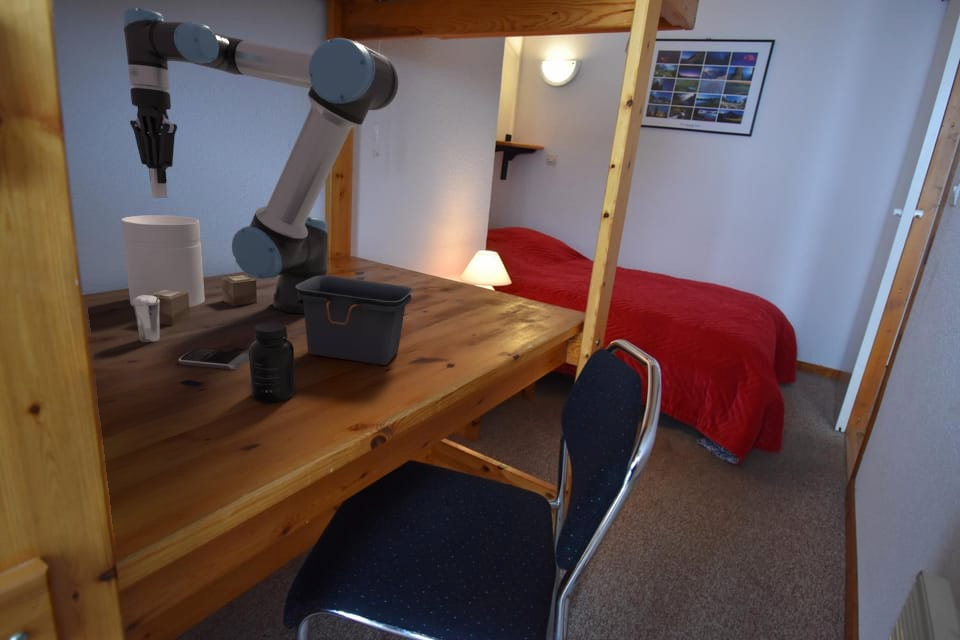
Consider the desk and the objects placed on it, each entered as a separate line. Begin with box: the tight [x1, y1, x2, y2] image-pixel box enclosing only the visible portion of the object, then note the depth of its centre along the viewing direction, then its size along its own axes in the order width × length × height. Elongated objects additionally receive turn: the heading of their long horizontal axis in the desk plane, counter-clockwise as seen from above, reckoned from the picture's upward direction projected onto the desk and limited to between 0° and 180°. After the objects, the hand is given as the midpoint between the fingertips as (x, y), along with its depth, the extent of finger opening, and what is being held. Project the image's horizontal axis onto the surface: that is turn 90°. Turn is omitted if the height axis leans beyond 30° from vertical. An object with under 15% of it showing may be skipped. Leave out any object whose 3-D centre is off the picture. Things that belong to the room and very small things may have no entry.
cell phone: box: [177, 348, 249, 370], centre depth 100 cm, size 6×11×1 cm, turn 88°
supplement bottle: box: [248, 322, 296, 404], centre depth 87 cm, size 7×7×12 cm
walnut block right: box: [221, 274, 258, 307], centre depth 136 cm, size 6×6×6 cm
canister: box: [120, 214, 206, 308], centre depth 129 cm, size 16×16×20 cm
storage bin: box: [295, 274, 414, 366], centre depth 106 cm, size 21×16×14 cm
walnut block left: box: [149, 290, 191, 326], centre depth 118 cm, size 6×6×6 cm
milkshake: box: [132, 294, 161, 343], centre depth 106 cm, size 4×5×10 cm
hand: (159, 197), depth 125 cm, fingers closed
